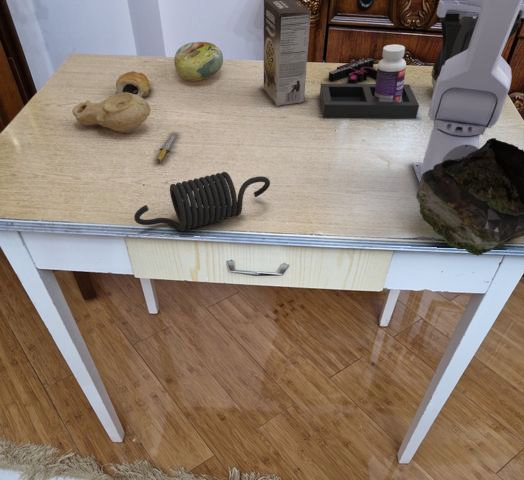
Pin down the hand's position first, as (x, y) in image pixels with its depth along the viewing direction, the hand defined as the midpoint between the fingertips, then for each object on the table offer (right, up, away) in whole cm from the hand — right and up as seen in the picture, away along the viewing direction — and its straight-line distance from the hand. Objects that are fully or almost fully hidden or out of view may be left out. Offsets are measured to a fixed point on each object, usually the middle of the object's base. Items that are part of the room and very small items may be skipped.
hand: (465, 64), depth 82 cm
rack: (-15, -1, +13) cm, 20 cm away
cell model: (-49, +7, +18) cm, 53 cm away
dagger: (-55, -14, +1) cm, 57 cm away
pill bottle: (-11, 0, +12) cm, 16 cm away
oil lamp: (-64, -8, +6) cm, 65 cm away
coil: (-45, -25, -12) cm, 53 cm away
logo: (-17, +14, +23) cm, 32 cm away
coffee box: (-32, +3, +16) cm, 36 cm away
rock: (-4, -28, -22) cm, 36 cm away
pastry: (-64, +4, +16) cm, 66 cm away
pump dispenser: (+4, +3, +16) cm, 17 cm away
